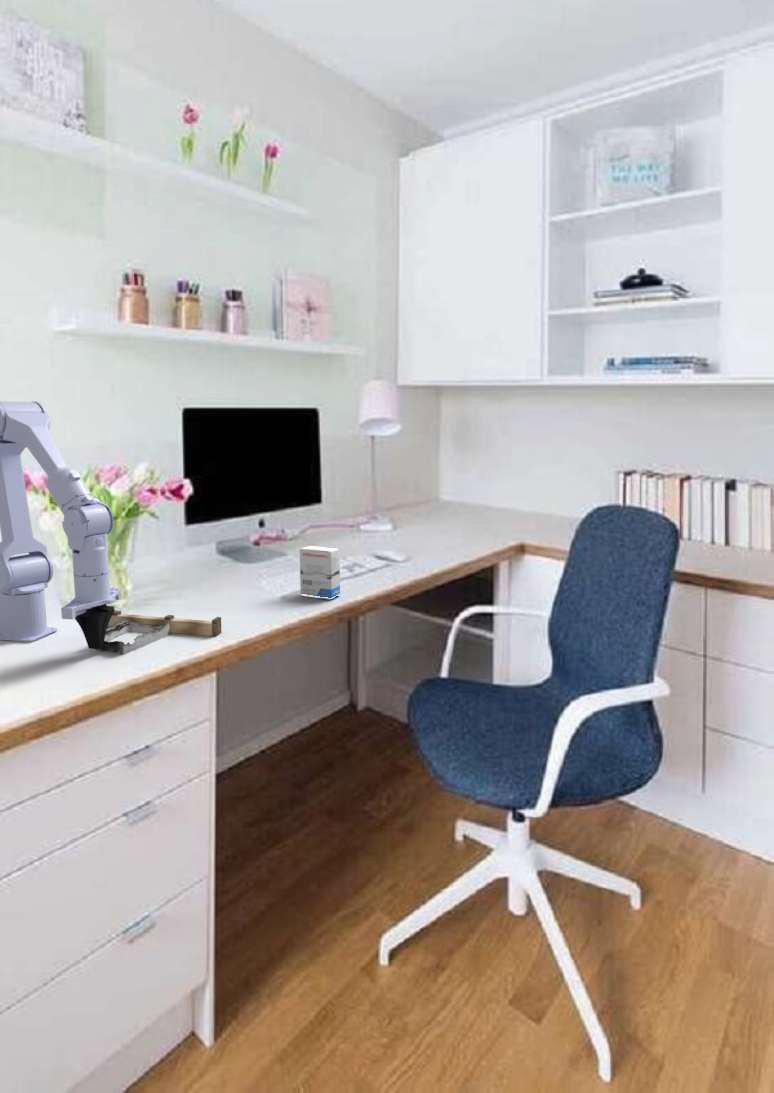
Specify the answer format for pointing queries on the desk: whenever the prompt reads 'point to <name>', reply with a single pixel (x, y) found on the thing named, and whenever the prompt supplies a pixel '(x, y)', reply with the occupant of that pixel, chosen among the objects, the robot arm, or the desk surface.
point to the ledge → (171, 623)
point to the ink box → (320, 571)
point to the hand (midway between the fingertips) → (95, 647)
